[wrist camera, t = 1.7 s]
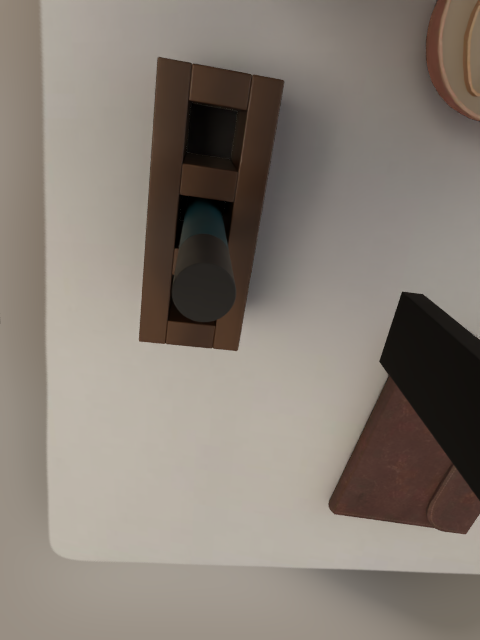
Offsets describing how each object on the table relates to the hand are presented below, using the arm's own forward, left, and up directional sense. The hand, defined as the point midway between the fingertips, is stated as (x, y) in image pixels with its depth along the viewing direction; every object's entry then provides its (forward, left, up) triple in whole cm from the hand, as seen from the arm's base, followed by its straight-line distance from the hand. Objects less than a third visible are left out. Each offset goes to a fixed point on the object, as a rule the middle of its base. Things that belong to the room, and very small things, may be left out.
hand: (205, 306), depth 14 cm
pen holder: (0, 0, -18) cm, 18 cm away
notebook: (+29, +8, -18) cm, 35 cm away
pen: (0, 0, -18) cm, 18 cm away
